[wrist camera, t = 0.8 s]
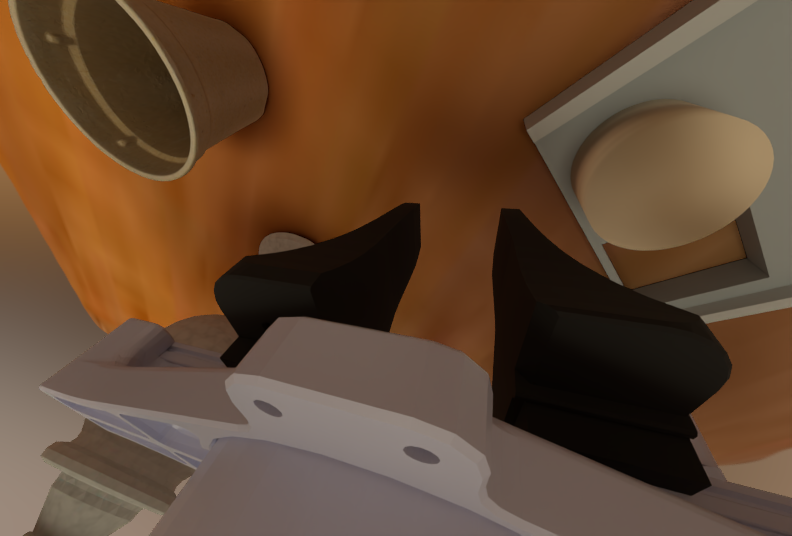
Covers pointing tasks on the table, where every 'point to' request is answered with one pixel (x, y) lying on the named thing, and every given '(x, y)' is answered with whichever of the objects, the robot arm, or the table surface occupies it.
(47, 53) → the flower pot
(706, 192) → the beige rounded dome
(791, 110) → the trap board
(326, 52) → the table surface
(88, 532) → the table lamp
